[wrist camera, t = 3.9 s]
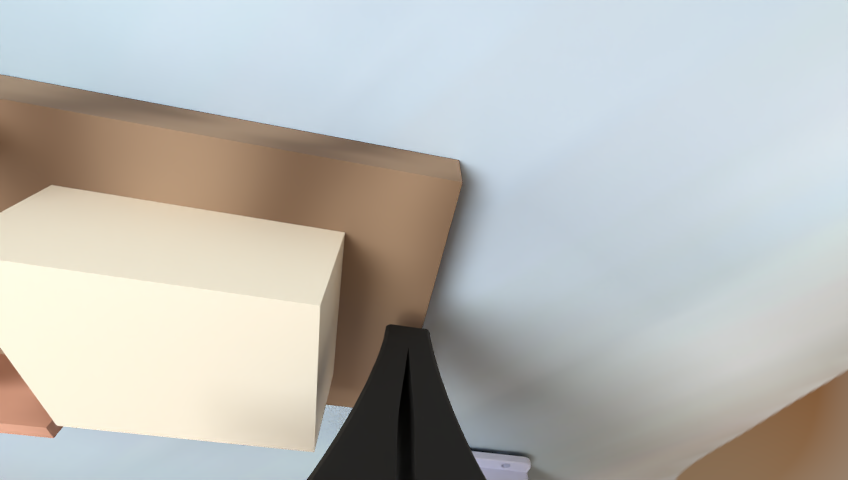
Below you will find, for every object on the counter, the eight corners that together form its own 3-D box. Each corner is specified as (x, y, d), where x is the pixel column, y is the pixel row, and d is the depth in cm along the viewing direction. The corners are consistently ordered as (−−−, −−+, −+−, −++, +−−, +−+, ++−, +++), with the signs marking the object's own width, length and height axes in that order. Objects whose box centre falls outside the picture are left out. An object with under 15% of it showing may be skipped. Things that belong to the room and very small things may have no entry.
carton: (344, 232, 11) (319, 305, 8) (333, 374, 15) (314, 452, 12) (51, 185, 10) (-71, 250, 8) (121, 348, 14) (57, 425, 12)
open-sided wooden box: (458, 160, 11) (471, 234, 8) (400, 382, 18) (394, 474, 14) (-422, -5, 9) (-911, 3, 6) (-118, 318, 15) (-265, 409, 12)
